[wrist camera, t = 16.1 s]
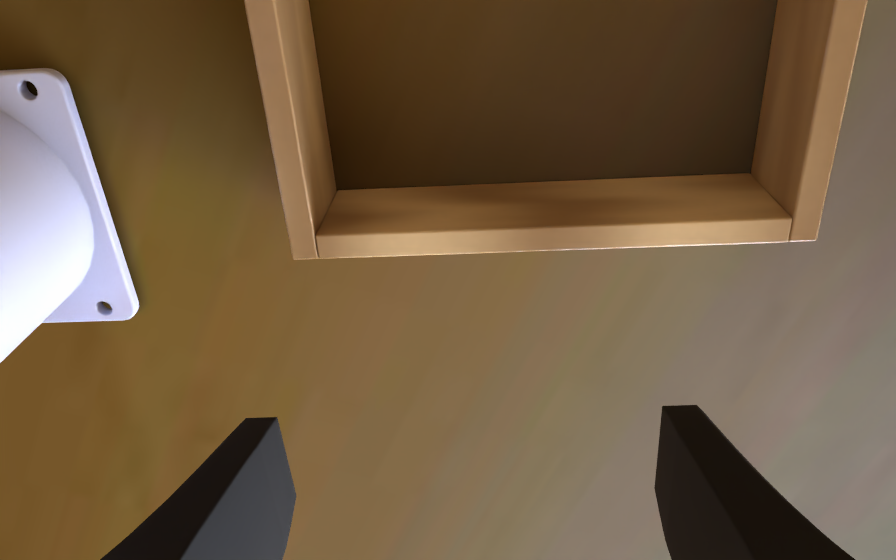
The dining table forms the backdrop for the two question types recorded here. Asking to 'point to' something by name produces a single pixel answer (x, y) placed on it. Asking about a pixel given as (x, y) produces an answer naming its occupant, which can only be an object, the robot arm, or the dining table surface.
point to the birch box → (566, 202)
